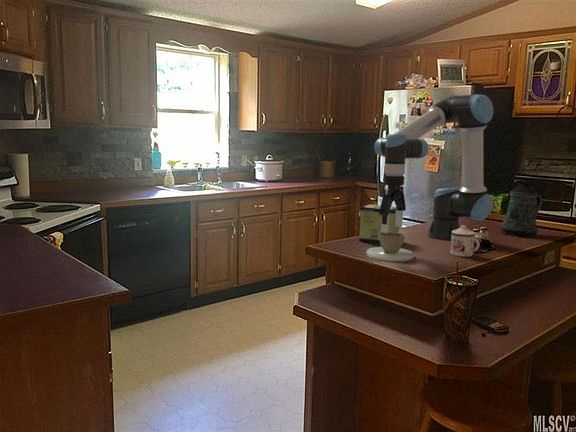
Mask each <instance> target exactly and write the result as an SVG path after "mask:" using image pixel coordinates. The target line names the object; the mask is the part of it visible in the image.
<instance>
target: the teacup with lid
mask: <svg viewBox="0 0 576 432" xmlns="http://www.w3.org/2000/svg"><path fill="white" fill-rule="evenodd" d="M451 234H452V237H451V240H450V250H449V252H450V254H451V255H453V256H456V257H460V258H461V257H462V258H463V257H464V258H465V257H467V258H468V257H472V256H474V252H476V251H478V250H479V248H480V241H479V239H476V238H475V236H476V234H475V232H474V231H473V230H470V229H468V228H467V226H466V225H460V228H459V229H457V230H453V231H452V232H451ZM475 244H476V246H475V248H474V245H475Z"/></svg>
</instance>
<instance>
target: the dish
mask: <svg viewBox="0 0 576 432" xmlns="http://www.w3.org/2000/svg"><path fill="white" fill-rule="evenodd" d="M366 256H367V257H369V258H370V259H373V260H376V261H383V262H397V263H398V262H400V263H401V262H409V261H411V260H413V259H414V256H415V255H414V252H412V251H411V250H408V249H405V248H402V247H401V248H400V249H399V251H398V252H397V253H386V252H384V250H383V248H382V246H375V247H370V248H367V249H366Z"/></svg>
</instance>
